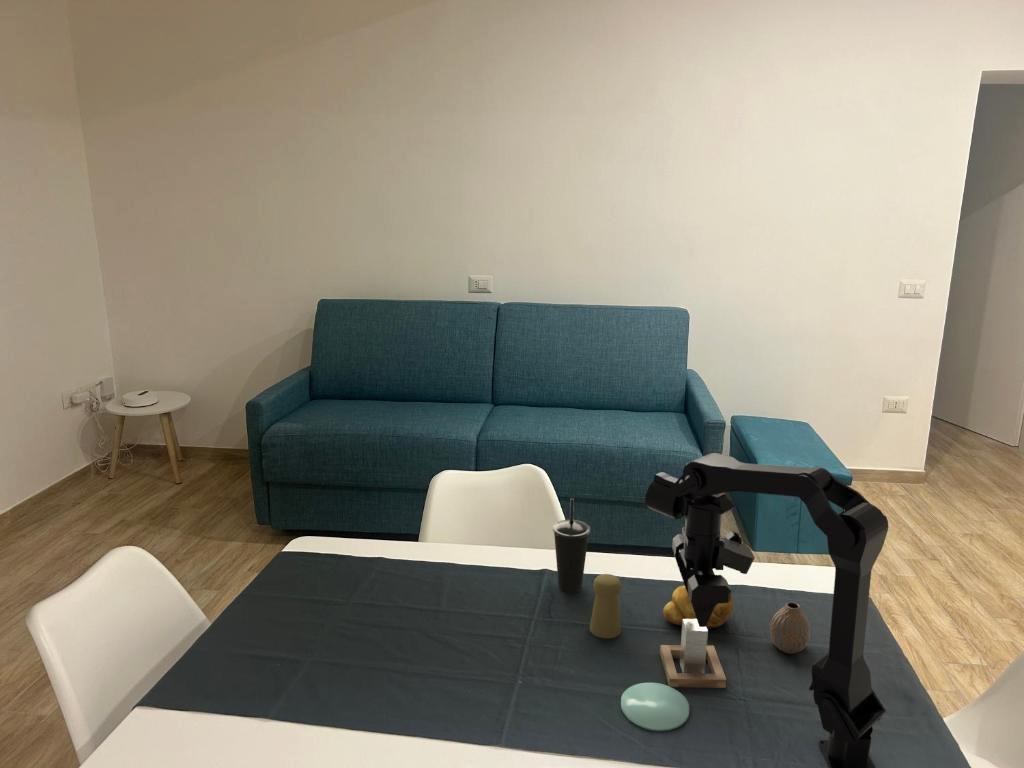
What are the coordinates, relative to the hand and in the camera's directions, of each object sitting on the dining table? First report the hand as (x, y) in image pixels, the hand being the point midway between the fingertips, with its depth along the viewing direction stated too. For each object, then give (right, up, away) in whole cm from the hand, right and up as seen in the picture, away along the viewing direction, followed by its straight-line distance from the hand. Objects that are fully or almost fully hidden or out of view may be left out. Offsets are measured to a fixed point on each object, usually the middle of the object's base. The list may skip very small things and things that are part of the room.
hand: (696, 611), depth 136 cm
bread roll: (+4, -7, +19) cm, 20 cm away
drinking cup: (-20, -4, +30) cm, 36 cm away
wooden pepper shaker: (-14, -8, +15) cm, 22 cm away
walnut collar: (0, -11, +3) cm, 12 cm away
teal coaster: (-8, -14, -6) cm, 17 cm away
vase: (+19, -10, +10) cm, 23 cm away
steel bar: (0, -11, +3) cm, 12 cm away
